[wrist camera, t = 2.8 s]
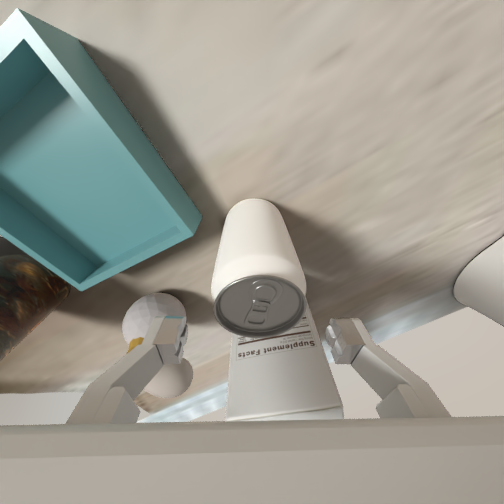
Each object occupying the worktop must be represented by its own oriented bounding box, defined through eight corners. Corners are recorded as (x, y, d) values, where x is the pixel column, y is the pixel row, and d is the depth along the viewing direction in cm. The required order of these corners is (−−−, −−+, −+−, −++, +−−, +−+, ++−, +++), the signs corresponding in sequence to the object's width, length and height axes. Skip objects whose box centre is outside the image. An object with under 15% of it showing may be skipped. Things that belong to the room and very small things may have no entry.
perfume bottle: (126, 293, 27) (56, 393, 17) (183, 269, 25) (139, 366, 15) (162, 323, 31) (122, 418, 21) (214, 304, 29) (196, 400, 19)
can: (290, 203, 20) (332, 279, 10) (274, 252, 24) (294, 346, 14) (229, 191, 19) (210, 261, 9) (221, 244, 23) (202, 337, 13)
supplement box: (306, 312, 30) (347, 445, 18) (251, 323, 31) (254, 454, 19) (298, 269, 25) (348, 409, 13) (233, 283, 26) (221, 425, 14)
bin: (77, 38, 13) (16, 7, 10) (202, 216, 21) (193, 235, 17) (-38, 149, 17) (-113, 155, 13) (104, 267, 24) (81, 291, 21)
